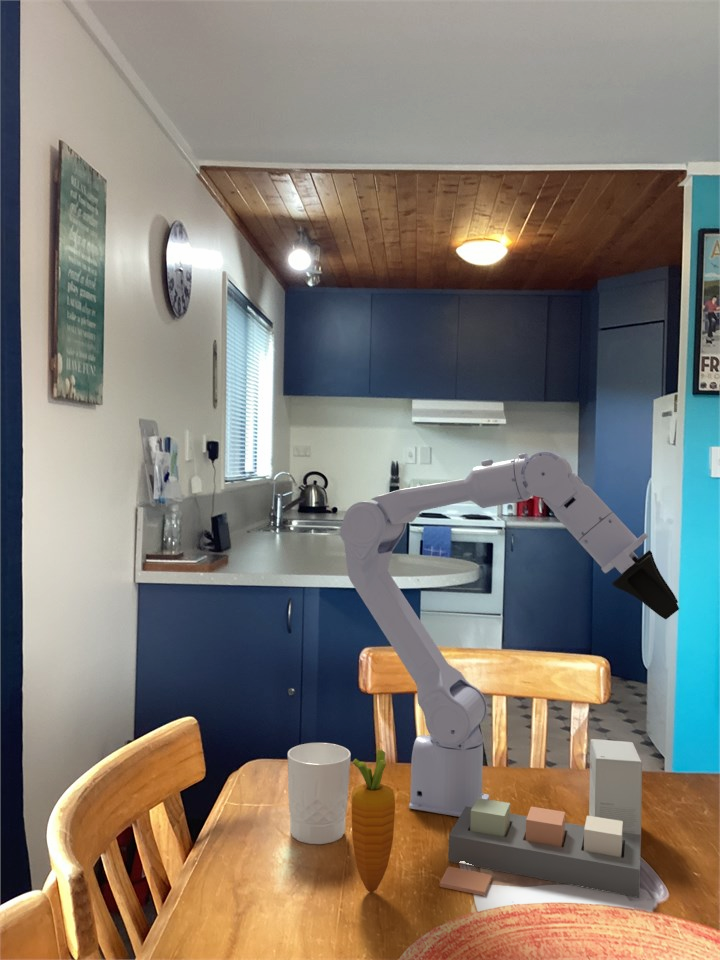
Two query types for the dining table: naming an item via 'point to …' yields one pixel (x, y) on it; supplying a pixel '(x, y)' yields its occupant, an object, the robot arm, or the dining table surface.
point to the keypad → (548, 856)
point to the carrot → (372, 823)
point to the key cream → (603, 836)
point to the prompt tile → (466, 880)
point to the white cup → (318, 791)
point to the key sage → (490, 817)
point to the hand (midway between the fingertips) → (672, 610)
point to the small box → (616, 783)
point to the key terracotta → (545, 826)
